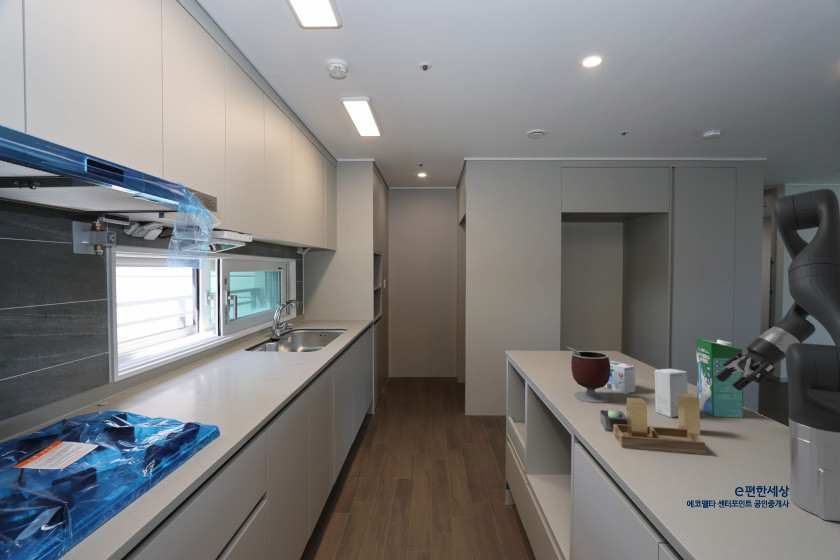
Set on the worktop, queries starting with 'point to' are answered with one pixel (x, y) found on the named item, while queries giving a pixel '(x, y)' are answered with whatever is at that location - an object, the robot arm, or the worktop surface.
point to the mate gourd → (590, 374)
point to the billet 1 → (636, 417)
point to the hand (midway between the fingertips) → (726, 383)
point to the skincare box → (669, 390)
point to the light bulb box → (621, 377)
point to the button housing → (612, 420)
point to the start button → (613, 413)
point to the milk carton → (712, 391)
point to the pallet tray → (661, 439)
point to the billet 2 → (689, 412)
